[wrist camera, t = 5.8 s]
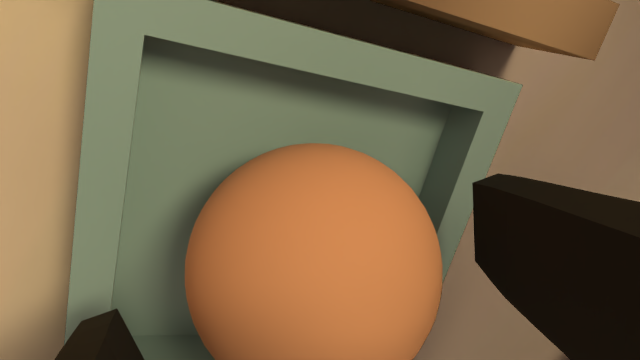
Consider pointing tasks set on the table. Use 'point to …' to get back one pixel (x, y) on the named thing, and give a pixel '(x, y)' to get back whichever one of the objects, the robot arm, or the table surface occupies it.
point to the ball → (313, 260)
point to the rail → (525, 21)
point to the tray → (246, 140)
